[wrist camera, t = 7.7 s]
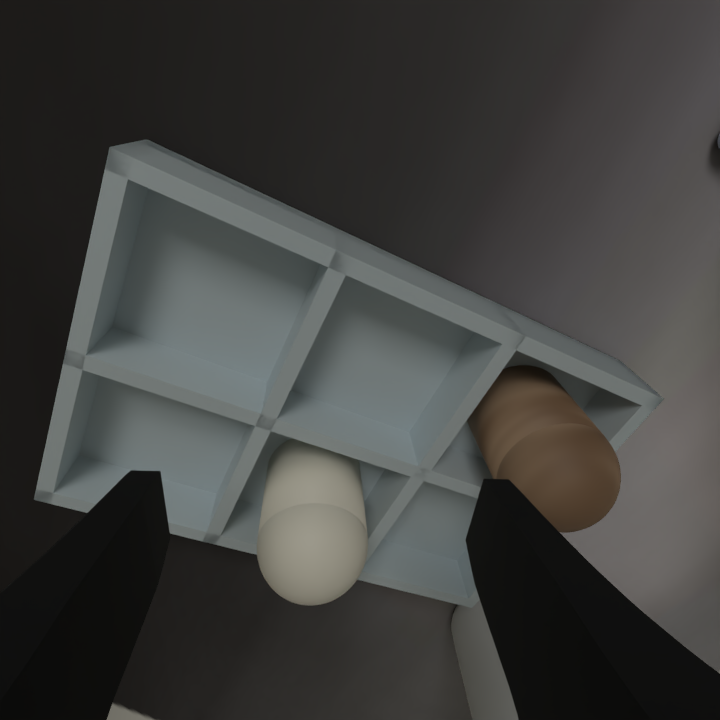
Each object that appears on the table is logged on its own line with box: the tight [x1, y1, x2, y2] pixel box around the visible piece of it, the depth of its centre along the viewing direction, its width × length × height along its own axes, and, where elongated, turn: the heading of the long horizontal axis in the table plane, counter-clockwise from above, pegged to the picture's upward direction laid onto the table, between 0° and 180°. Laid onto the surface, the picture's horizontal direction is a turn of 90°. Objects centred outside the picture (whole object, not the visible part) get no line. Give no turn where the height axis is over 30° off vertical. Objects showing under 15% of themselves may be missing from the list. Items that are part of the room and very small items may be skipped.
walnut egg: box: [467, 365, 621, 532], centre depth 18 cm, size 4×4×6 cm
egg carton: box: [34, 139, 664, 608], centre depth 19 cm, size 20×14×3 cm
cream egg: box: [257, 438, 368, 605], centre depth 18 cm, size 4×4×6 cm
